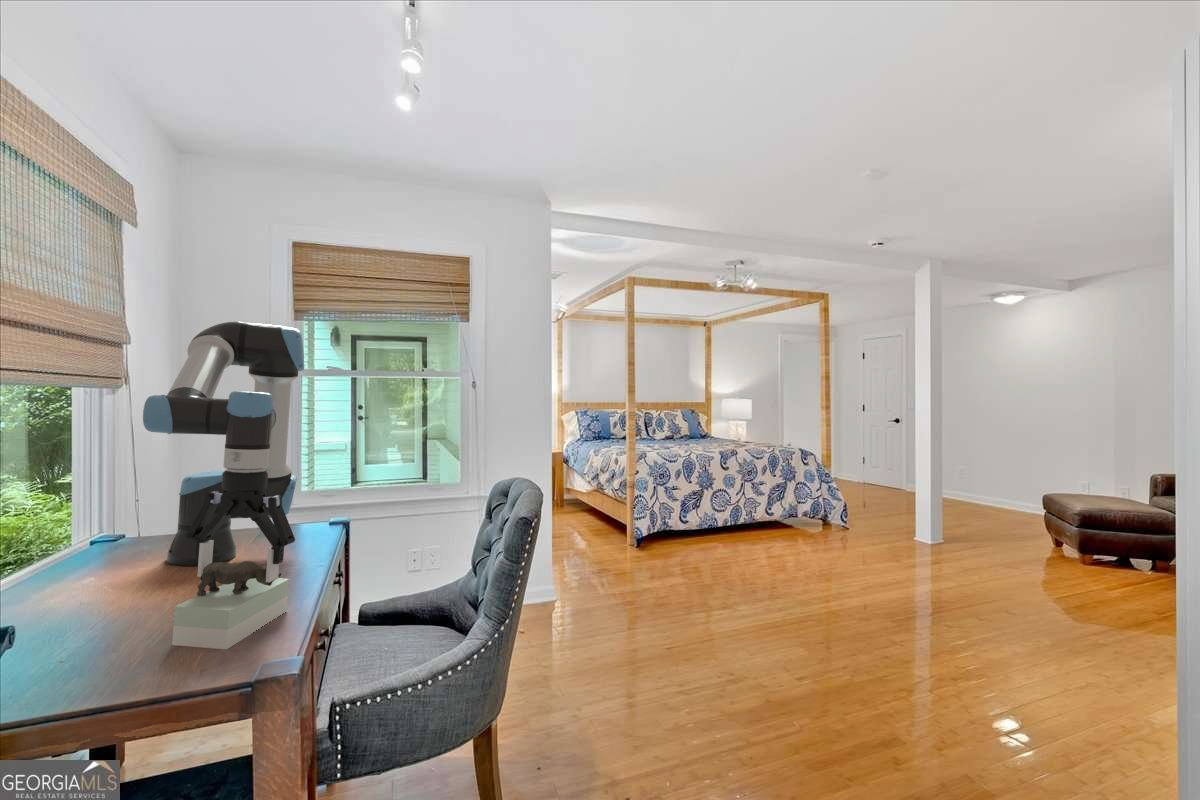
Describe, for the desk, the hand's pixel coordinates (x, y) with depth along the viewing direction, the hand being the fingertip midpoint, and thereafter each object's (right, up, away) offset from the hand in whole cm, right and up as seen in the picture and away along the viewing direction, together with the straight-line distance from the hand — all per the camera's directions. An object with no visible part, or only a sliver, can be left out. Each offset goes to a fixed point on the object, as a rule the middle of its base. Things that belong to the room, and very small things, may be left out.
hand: (238, 577), depth 106 cm
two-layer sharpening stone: (-1, -10, 0) cm, 10 cm away
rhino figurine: (0, -3, 0) cm, 3 cm away
